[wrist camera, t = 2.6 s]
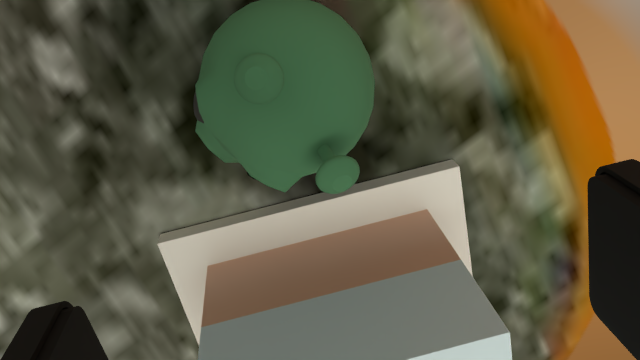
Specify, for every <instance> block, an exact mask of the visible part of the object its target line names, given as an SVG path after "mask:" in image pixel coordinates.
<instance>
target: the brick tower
mask: <svg viewBox="0 0 640 360" xmlns="http://www.w3.org/2000/svg"><path fill="white" fill-rule="evenodd" d="M158 246H159V249H160V251H161V254H162V256H163V259H164V261H165V263H166V266H167V268H168V271H169V273H170V276H171V278H172V281H173V283H174V286H175V288H176V290H177V293H178V295H179V298H180V300H181V303H182V305H183V308H184V310H185V313H186V315H187V317H188V320H189V322H190V325H191V327H192V330H193V332H194V335H195V337H196V340H197V342H198V344H199V353H198V360H512V352H511V341H510V332H509V330H508V329H507V327H506V326H505V324H504V323H503V321H502V320H501V318H500V317H499V315H498V314H497V313H496V311H495V310H494V308H493V307H492V305H491V304H490V302H489V301H488V299H487V298H486V296H485V295H484V293H483V292H482V290H481V289H480V287H479V286H478V284H477V283H476V281H475V280H474V278H473V276H472V268H471V259H470V251H469V243H468V234H467V226H466V218H465V209H464V201H463V193H462V184H461V176H460V168H459V165H458V164H457V163H456V162H455V161H454V160H453V159H451V160H447V161H444V162H440V163H436V164H432V165H428V166H424V167H420V168H416V169H412V170H408V171H405V172H401V173H397V174H393V175H389V176H385V177H381V178H377V179H373V180H369V181H366V182H362V183H358V184H354V185H353V186H352V187H351V188H350V189H348V190H346V191H344V192H342V193H339V194H329V193H324V192H323V193H319V194H315V195H311V196H307V197H303V198H299V199H295V200H291V201H288V202H284V203H280V204H276V205H272V206H268V207H264V208H260V209H256V210H252V211H249V212H245V213H241V214H237V215H233V216H229V217H225V218H221V219H217V220H213V221H210V222H206V223H202V224H198V225H194V226H190V227H186V228H182V229H178V230H174V231H171V232H167V233H163V234H160V237H159V240H158Z"/></svg>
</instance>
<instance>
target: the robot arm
mask: <svg viewBox="0 0 640 360" xmlns="http://www.w3.org/2000/svg"><path fill="white" fill-rule="evenodd" d="M588 236H589V296H590V302H591V305H592V308H593V310H594V312H595V314H596V315H597V316H598V317H599V319H600V320H601V321H602V322H603V323H604V324H605V325H606V326H607V327H608V328H609V330H610V331H611V332H612V333H613V334H614V335H615V336H616V337H617V338H618V339H619V341H620V342H621V343H622V344H623V345H624V346H625V347H626V348H627V349H628V351H630V353H632V355H633V356H634V357H635V358H636V359H637V360H640V162H639V161H637V160H634V159H631V160H626V161H622V162H618V163H614V164H610V165H606V166H602V167H599V168H598V169H597V171H596V174H595V176H594V177H591V178H590V179H589V181H588ZM1 360H108V358H107V356H106V354H105V352H104V350H103V348H102V346H101V344H100V342H99V340H98V338H97V336H96V334H95V332H94V330H93V328H92V326H91V324H90V322H89V320H88V318H87V316H86V314H85V312H84V310H83V309H82V308H81V307H79V306H76V307H73V306H72V305H71V304H70V303H69V302H67V301H63V302H59V303H55V304H51V305H47V306H43V307H39V308H35V309H32V310H31V311H30V312H29V313H28V315H27V316H26V318H25V320H24V321H23V323H22V325H21V327H20V328H19V330H18V332H17V333H16V335H15V337H14V338H13V340H12V342H11V343H10V345H9V347H8V348H7V350H6V352H5V353H4V355H3V357H2V358H1Z"/></svg>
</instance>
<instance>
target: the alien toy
mask: <svg viewBox="0 0 640 360" xmlns="http://www.w3.org/2000/svg"><path fill="white" fill-rule="evenodd" d="M195 88H196V91H195V95H194V103H193V107H194V115H195V116H196V118H197V124H196V130H195V131H196V133H197V134H198V135H199V137H200V138H201V140H202V141H203V142H204V144H205V145H206V147H207V148H208V149H209V150H210V151H211V152H213V153H214V154H215V155H216V156H217V157H219V158H220V159H221V160H222V161H223V162H239V163H241V165H242V166H243V167H244V168H245V170H246V171H247V174H248V175H249V176H250V177H252V178H253V179H257V180H258V181H260V182H262V183H263V184H265V185H267V186H269V187H272V188H274V189H277V190H280V191H283V192H286V191H287V190H288V189H289V188H290V187H291V186H293V185H294V184H295V183H296V182H297V181H298V180H299V179H300V178H301V177H303V176H306V175H310V174H313V173H317V174H316V178H315V179H316V184H317V186H318V187H319V189H320V190H321V191H323V192H324V193H329V194H339V193H342V192H344V191H346V190H348V189H350V188H351V187H352V186H353V185H354V184H355V182H356V181H357V179H358V176H359V173H360V169H359V165H358V163H357V161H356V160H355V159H353V158H352V157H349V156H345V155H346V154H347V153H348V152H349V151H350V150H351V149H353V148H354V146H355V145H356V143H357V142H358V140H359V139H360V137H361V135H362V134H363V132H364V131H365V129H366V127H367V125H368V122H369V119H370V115H371V112H372V109H373V105H374V88H375V80H374V75H373V70H372V66H371V61H370V57H369V55H368V53H367V51H366V49H365V47H364V45H363V43H362V41H361V39H360V37H359V35H358V34H357V33H356V32H355V31H354V30H353V29H352V27H351V26H350V25H349V24H348V23H347V22H346V21H345V20H344V19H343V18H342V17H341V16H340V15H338V14H337V13H335V12H334V11H332V10H330V9H329V8H327V7H325V6H324V5H322V4H320V3H318V2H314V1H310V0H259V1H256V2H252V3H250V4H248V5H246V6H245V7H243V8H242V9H240V10H238V11H237V12H235V13H233V14H232V15H230V17H229V18H228V19H227V20H226V21H225V22H224V23H223V24H222V25H221V26H220V27H219V28H218V30H217V31H216V32H215V33H214V35H213V37H212V39H211V41H210V43H209V45H208V47H207V49H206V51H205V53H204V55H203V59H202V64H201V69H200V74H199V80H198V81H197V83H196V84H195Z"/></svg>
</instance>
